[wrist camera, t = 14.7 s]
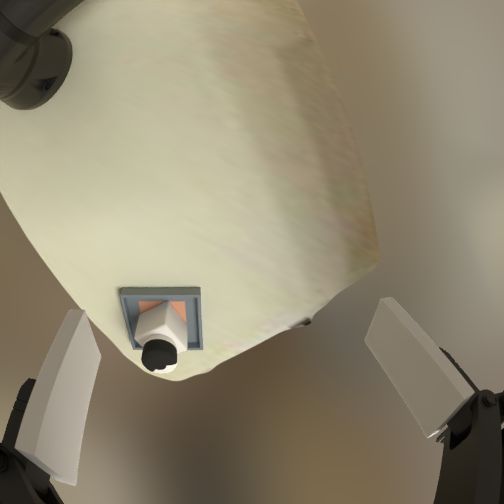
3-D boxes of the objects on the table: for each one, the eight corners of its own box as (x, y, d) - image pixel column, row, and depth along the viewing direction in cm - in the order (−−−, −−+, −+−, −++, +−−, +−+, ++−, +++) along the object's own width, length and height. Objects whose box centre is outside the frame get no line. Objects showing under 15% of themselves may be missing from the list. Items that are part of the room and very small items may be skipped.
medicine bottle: (138, 313, 49) (129, 358, 38) (168, 299, 49) (163, 344, 38) (159, 337, 52) (155, 382, 42) (188, 324, 52) (188, 370, 42)
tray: (122, 287, 47) (119, 295, 45) (200, 287, 50) (200, 294, 48) (134, 341, 53) (133, 349, 51) (202, 341, 56) (203, 349, 54)
